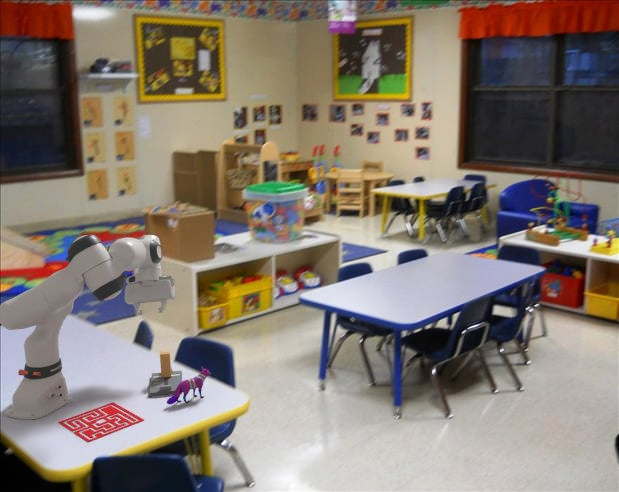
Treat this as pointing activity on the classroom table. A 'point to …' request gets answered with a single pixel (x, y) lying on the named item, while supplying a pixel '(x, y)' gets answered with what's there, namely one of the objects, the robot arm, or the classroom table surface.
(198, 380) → the purple fox figurine
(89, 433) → the maze puzzle
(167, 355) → the fader cap
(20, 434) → the classroom table surface
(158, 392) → the fader board
